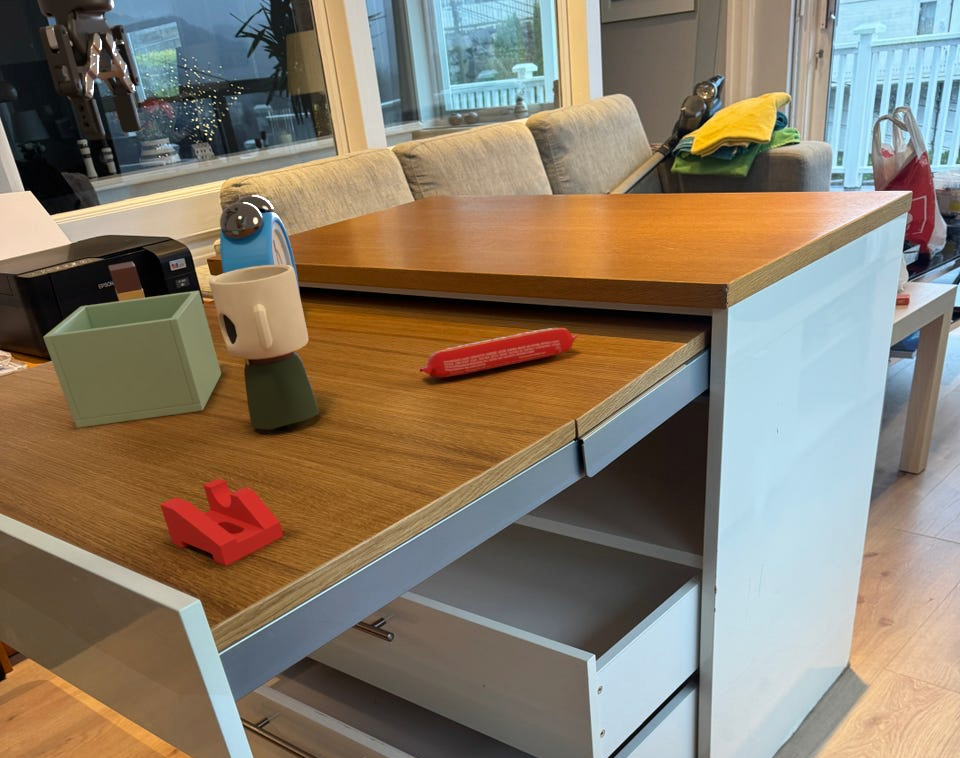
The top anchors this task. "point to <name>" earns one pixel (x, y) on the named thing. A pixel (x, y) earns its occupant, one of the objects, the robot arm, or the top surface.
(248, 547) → the bracket
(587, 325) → the top surface
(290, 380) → the character mug
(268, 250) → the alarm clock
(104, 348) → the trash bin
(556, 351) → the packaged sausage
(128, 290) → the chocolate carton
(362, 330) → the top surface
